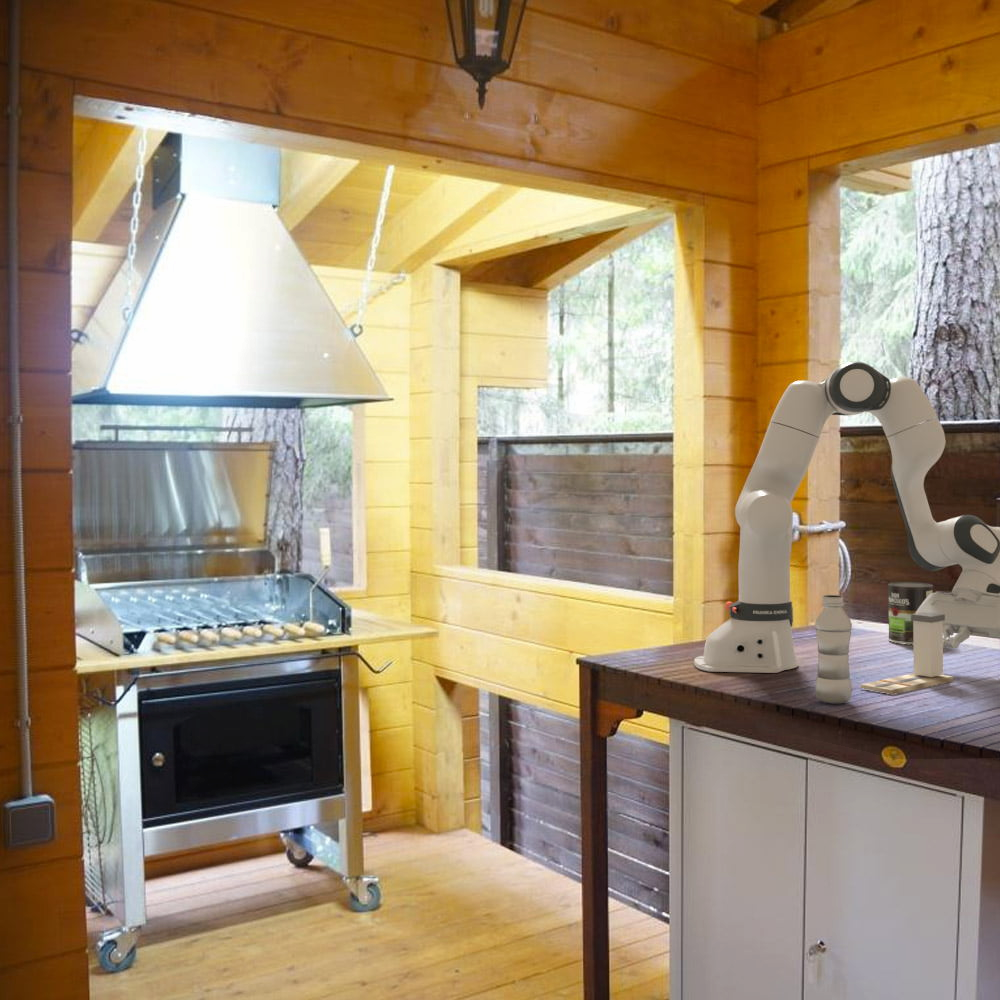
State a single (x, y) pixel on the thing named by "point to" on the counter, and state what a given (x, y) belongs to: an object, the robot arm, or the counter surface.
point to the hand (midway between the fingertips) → (948, 646)
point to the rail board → (906, 683)
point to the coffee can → (905, 608)
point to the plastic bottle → (833, 652)
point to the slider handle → (928, 643)
